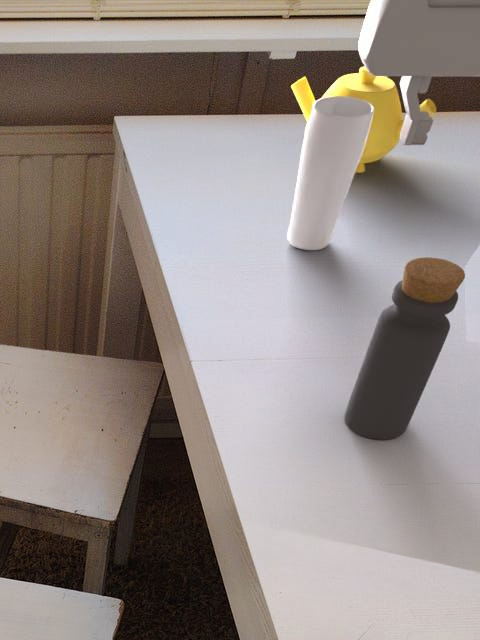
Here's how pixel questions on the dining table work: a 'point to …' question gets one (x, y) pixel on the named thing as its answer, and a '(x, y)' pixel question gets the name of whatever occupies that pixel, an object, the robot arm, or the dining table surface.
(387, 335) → the bottle
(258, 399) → the dining table surface
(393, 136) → the teapot
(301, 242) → the white vase
